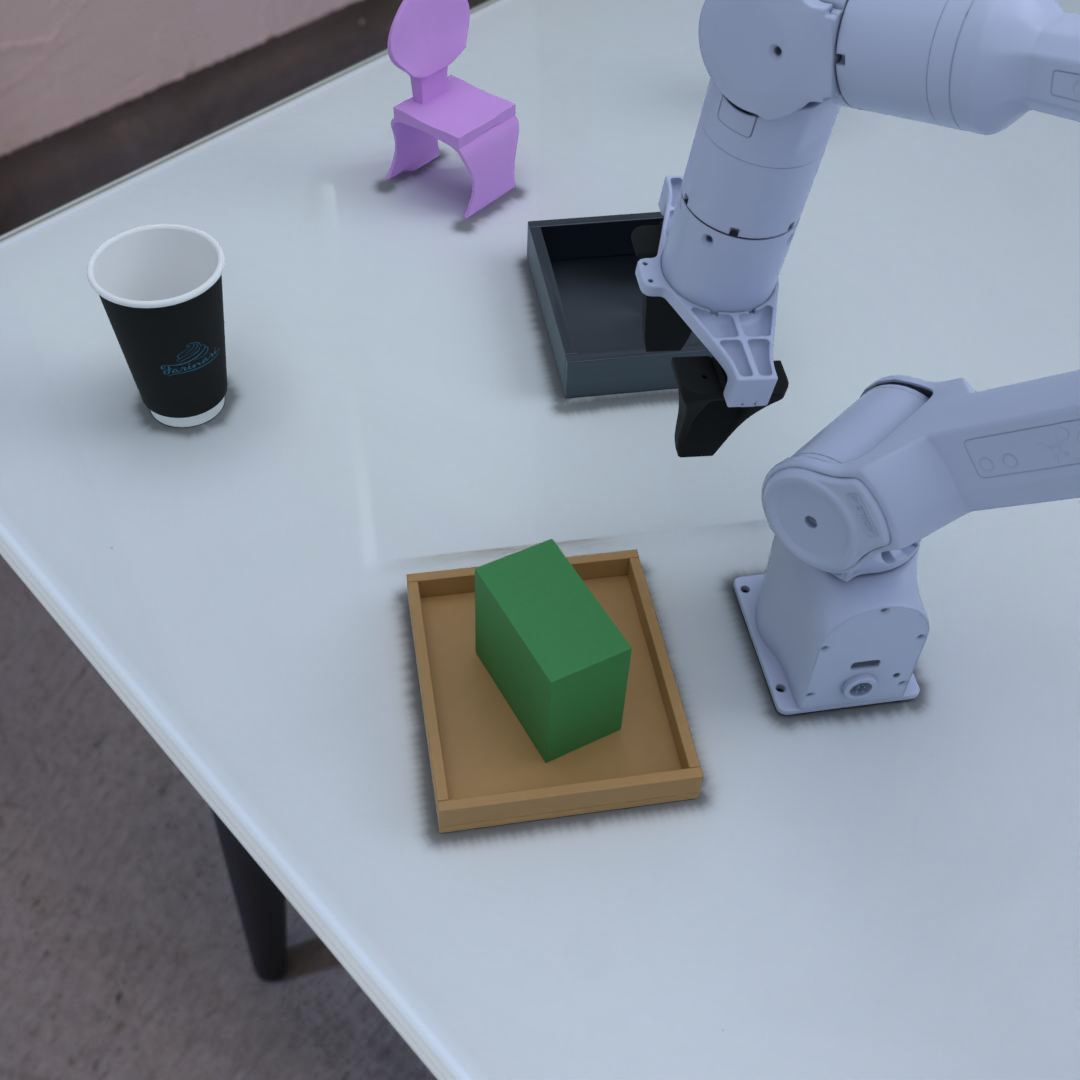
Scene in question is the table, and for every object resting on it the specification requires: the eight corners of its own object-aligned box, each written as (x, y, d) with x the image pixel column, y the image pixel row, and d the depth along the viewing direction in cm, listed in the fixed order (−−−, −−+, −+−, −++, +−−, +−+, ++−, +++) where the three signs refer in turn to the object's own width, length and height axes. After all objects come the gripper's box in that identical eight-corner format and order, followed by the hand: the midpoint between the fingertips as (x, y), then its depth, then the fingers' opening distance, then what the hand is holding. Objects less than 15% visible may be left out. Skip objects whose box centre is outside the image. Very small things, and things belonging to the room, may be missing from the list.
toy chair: (459, 236, 98) (456, 46, 87) (373, 191, 102) (360, 3, 90) (529, 189, 103) (535, 2, 91) (445, 148, 106) (441, -36, 95)
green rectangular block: (547, 622, 73) (552, 538, 68) (621, 729, 68) (632, 647, 63) (475, 651, 71) (474, 567, 66) (545, 763, 67) (550, 682, 62)
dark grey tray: (764, 388, 88) (774, 344, 85) (564, 407, 86) (567, 362, 83) (706, 251, 98) (712, 207, 95) (526, 264, 96) (527, 220, 93)
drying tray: (698, 798, 66) (703, 776, 65) (439, 833, 65) (438, 811, 63) (634, 572, 76) (637, 548, 75) (407, 598, 75) (406, 573, 73)
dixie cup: (165, 350, 88) (132, 210, 80) (271, 379, 87) (248, 239, 78) (100, 425, 83) (58, 284, 75) (211, 457, 82) (180, 317, 73)
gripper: (625, 102, 64) (581, 306, 75) (697, 311, 56) (636, 506, 67) (761, 103, 65) (698, 302, 76) (850, 307, 57) (766, 498, 68)
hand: (677, 397), depth 72 cm, fingers open, 7 cm apart
